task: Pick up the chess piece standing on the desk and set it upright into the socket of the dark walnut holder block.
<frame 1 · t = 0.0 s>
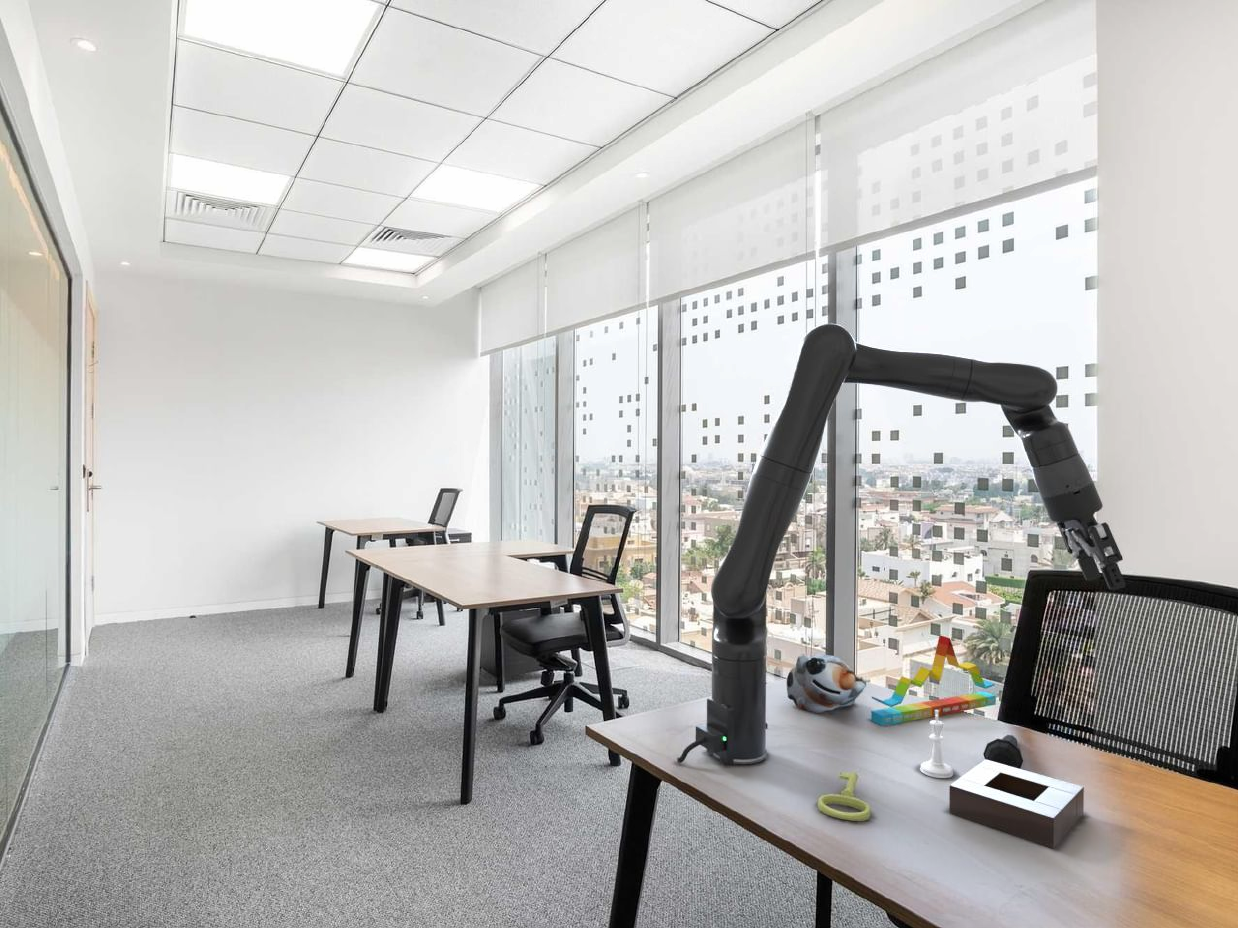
hand: (1105, 583, 116), 31 cm above the table, tool tilted 20°, fingers open, 8 cm apart
microphone: (1011, 761, 125), on the table
lucky cat figurine: (826, 707, 152), on the table
holder: (1016, 813, 107), on the table
key: (846, 804, 110), on the table
chart: (936, 713, 149), on the table
chess piece: (936, 773, 121), on the table
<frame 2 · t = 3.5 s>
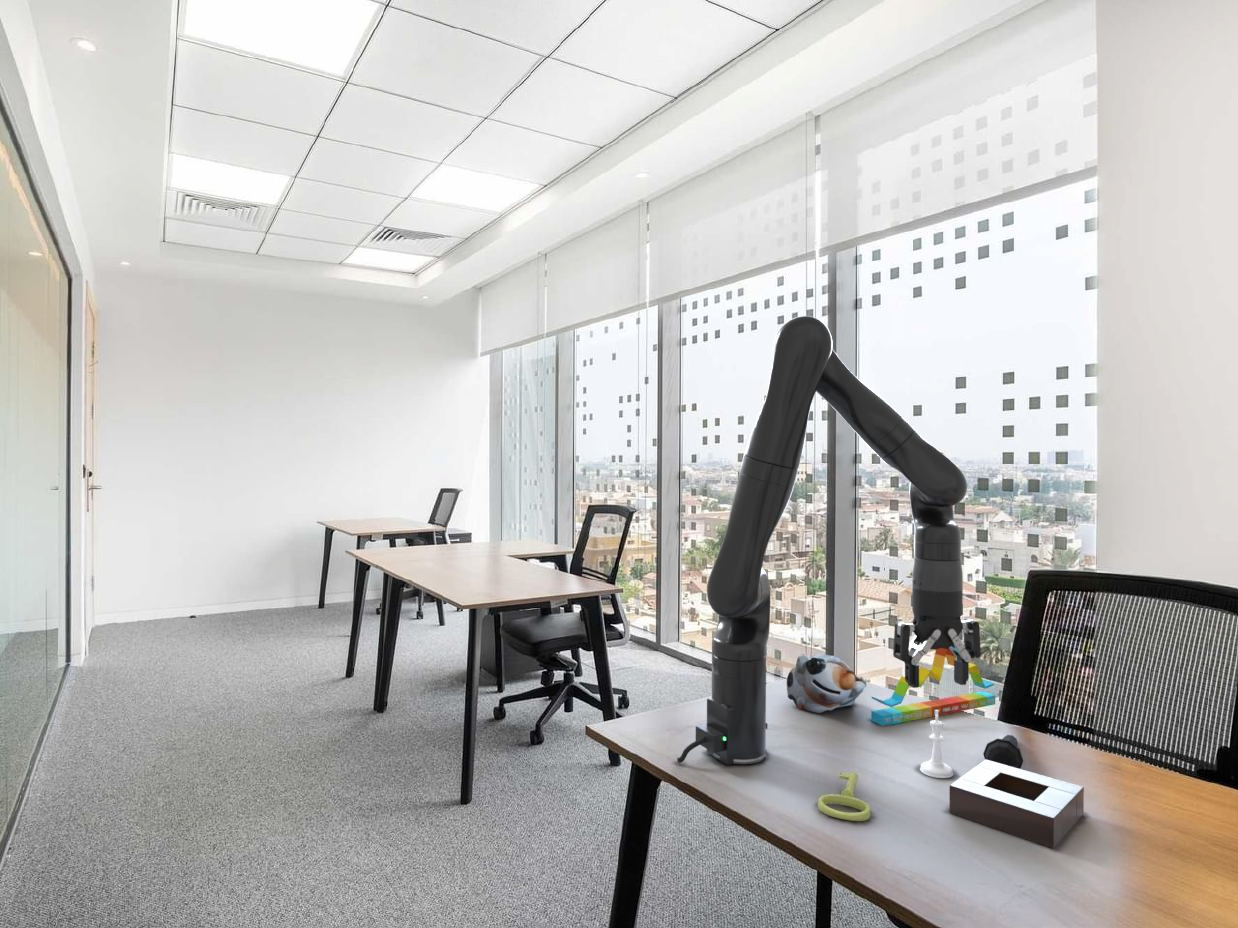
hand: (936, 684, 121), 14 cm above the table, tool pointing down, fingers open, 8 cm apart
nothing on the table moved.
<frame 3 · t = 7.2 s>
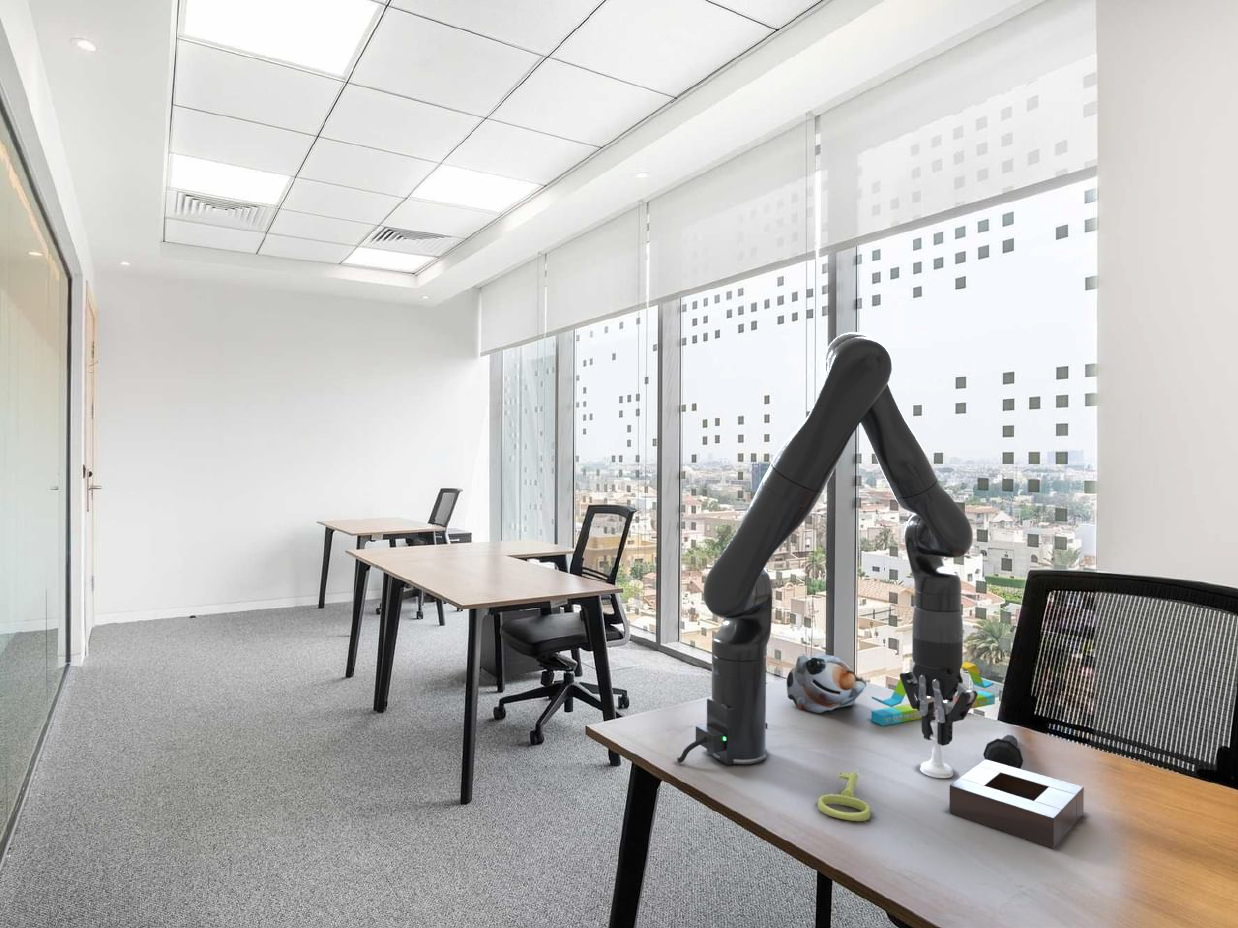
hand: (936, 740, 121), 5 cm above the table, tool pointing down, fingers closed on chess piece
chess piece: (936, 772, 121), on the table, touching gripper
everything else where it was.
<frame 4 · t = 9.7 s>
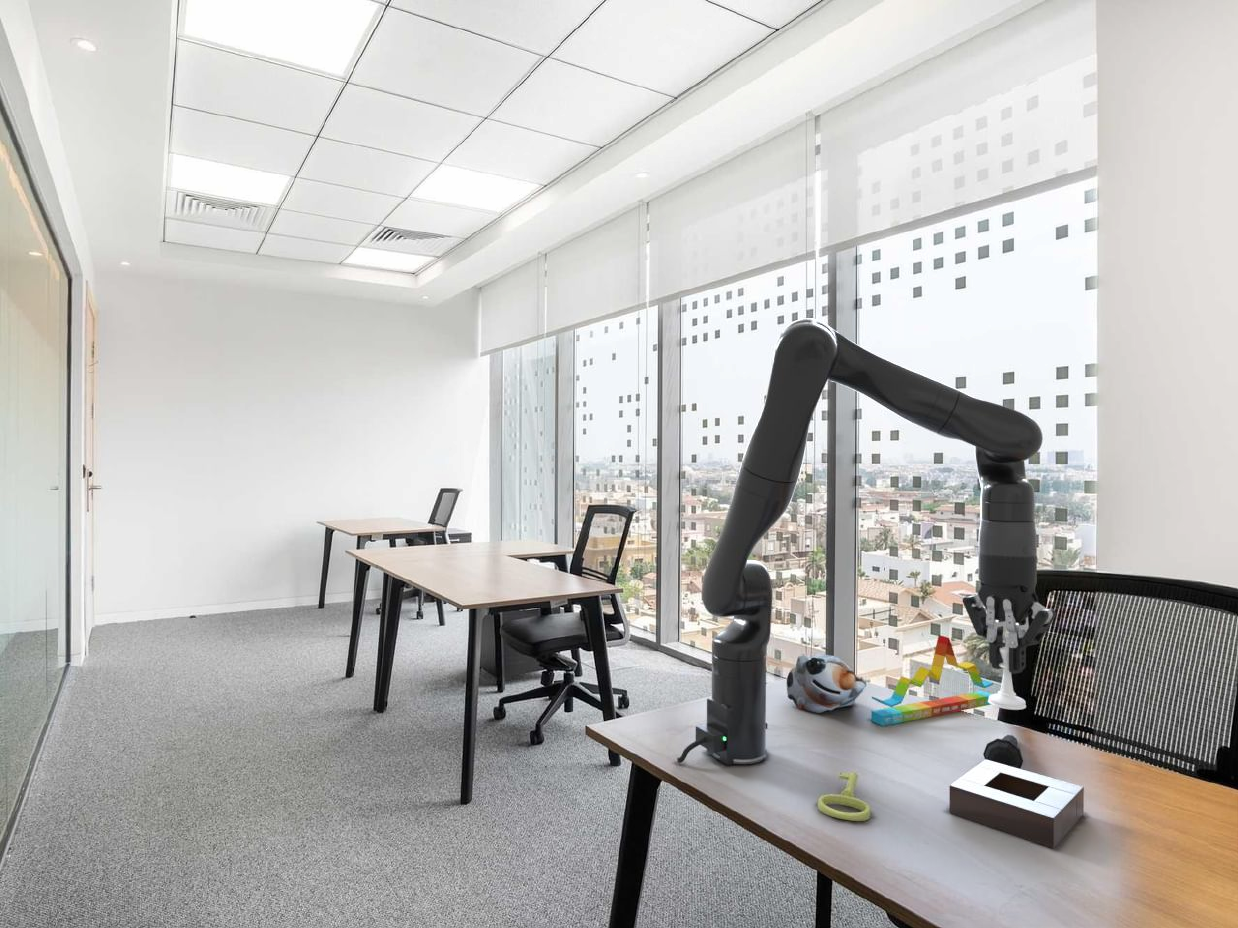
hand: (1006, 669, 108), 20 cm above the table, tool pointing down, fingers closed on chess piece
chess piece: (1006, 705, 108), point 15 cm above the table, touching gripper
everything else where it was.
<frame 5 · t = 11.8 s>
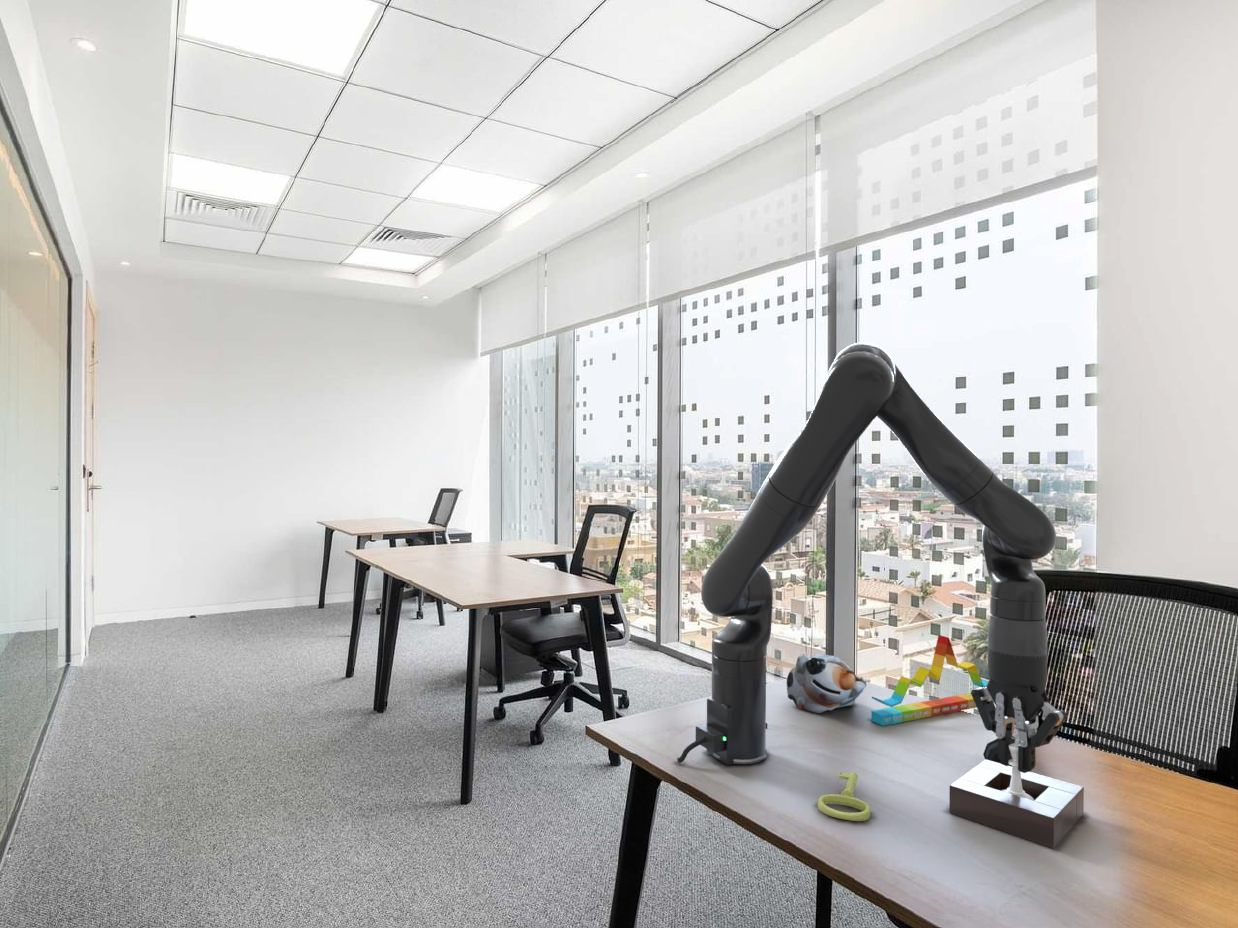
hand: (1016, 767, 107), 7 cm above the table, tool pointing down, fingers closed on chess piece
chess piece: (1015, 803, 107), point 2 cm above the table, touching gripper
everything else where it was.
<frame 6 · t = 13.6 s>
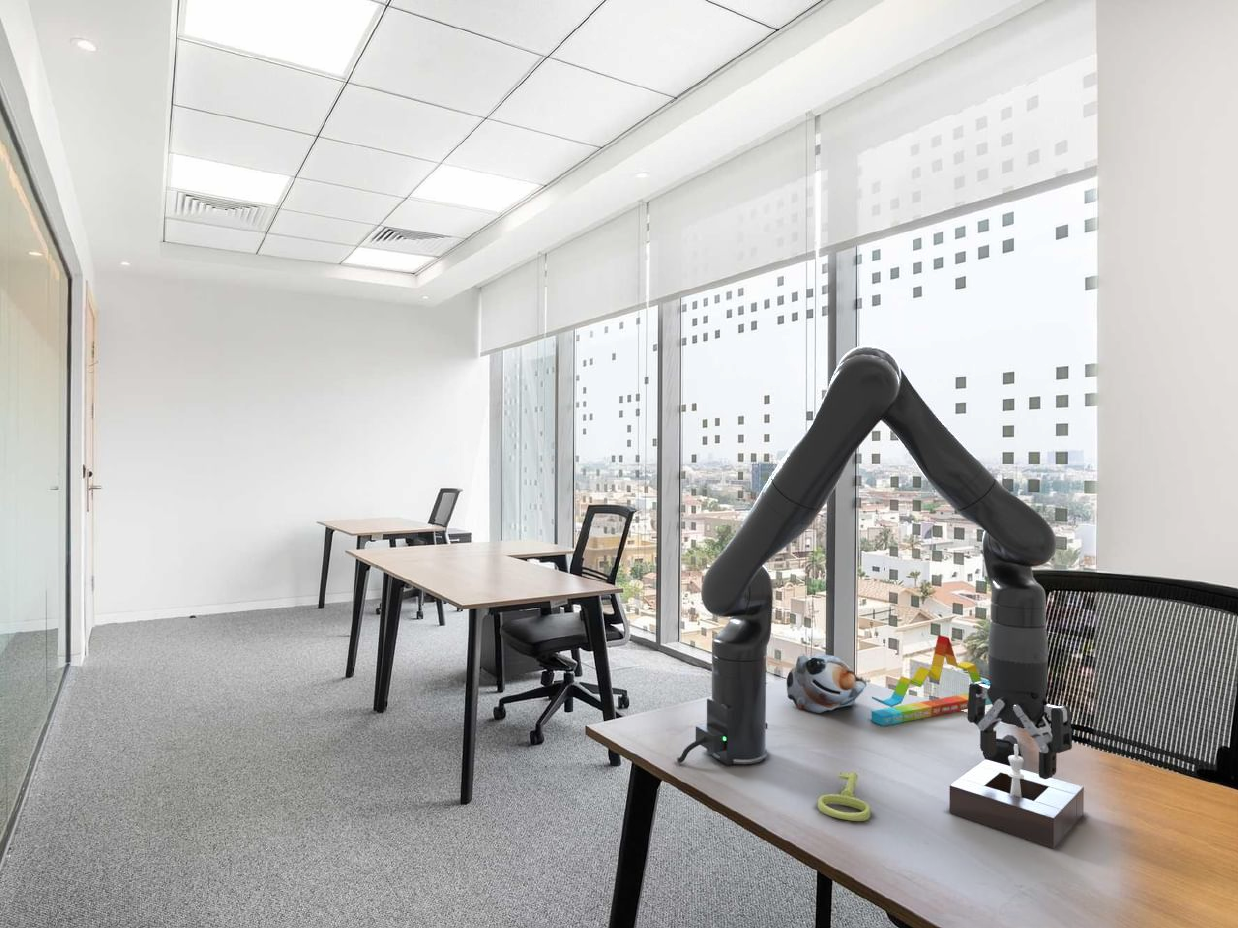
hand: (1016, 766, 107), 7 cm above the table, tool pointing down, fingers open, 8 cm apart
chess piece: (1015, 815, 107), resting in holder
everything else where it was.
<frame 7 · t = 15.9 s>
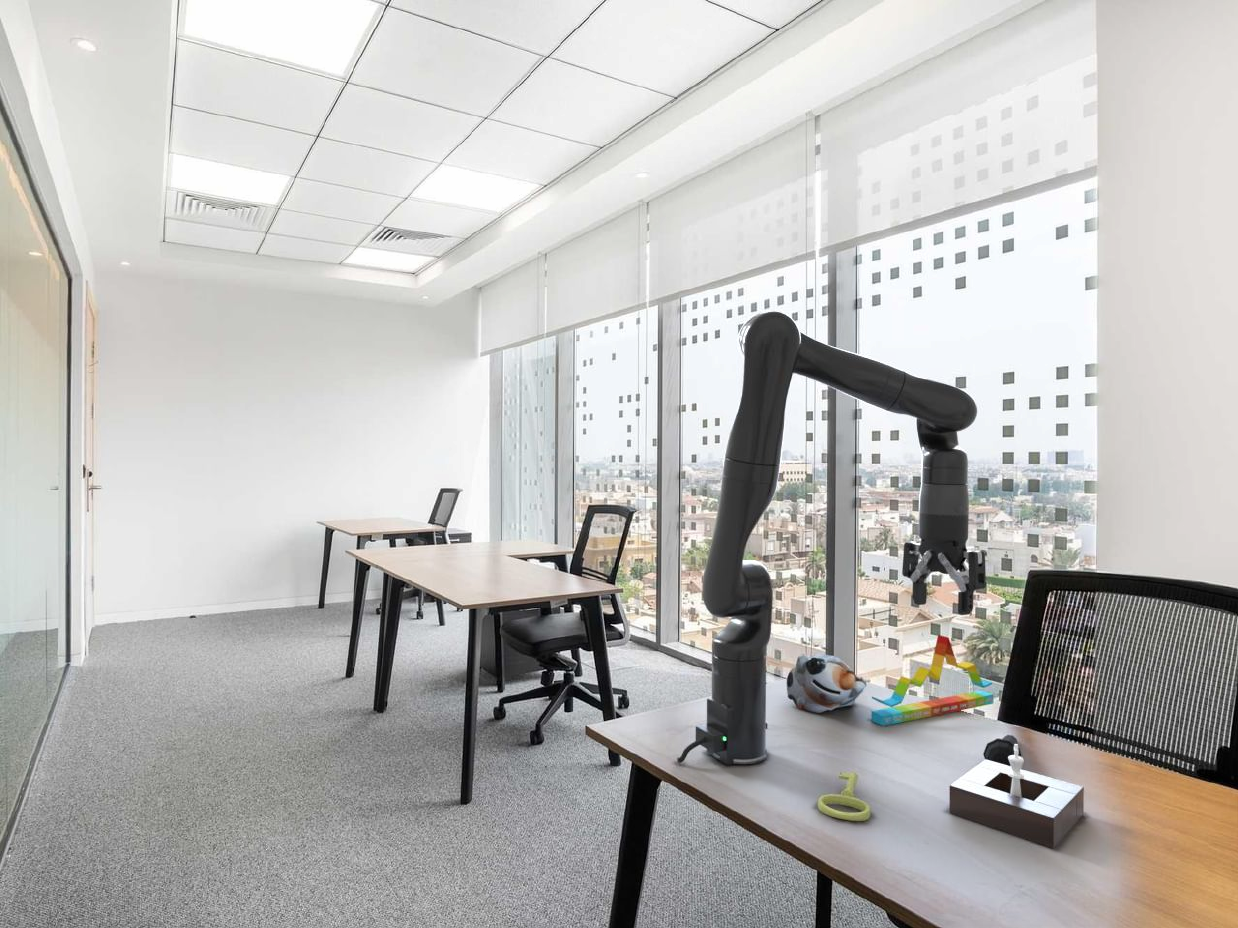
hand: (941, 609, 123), 26 cm above the table, tool pointing down, fingers open, 8 cm apart
nothing on the table moved.
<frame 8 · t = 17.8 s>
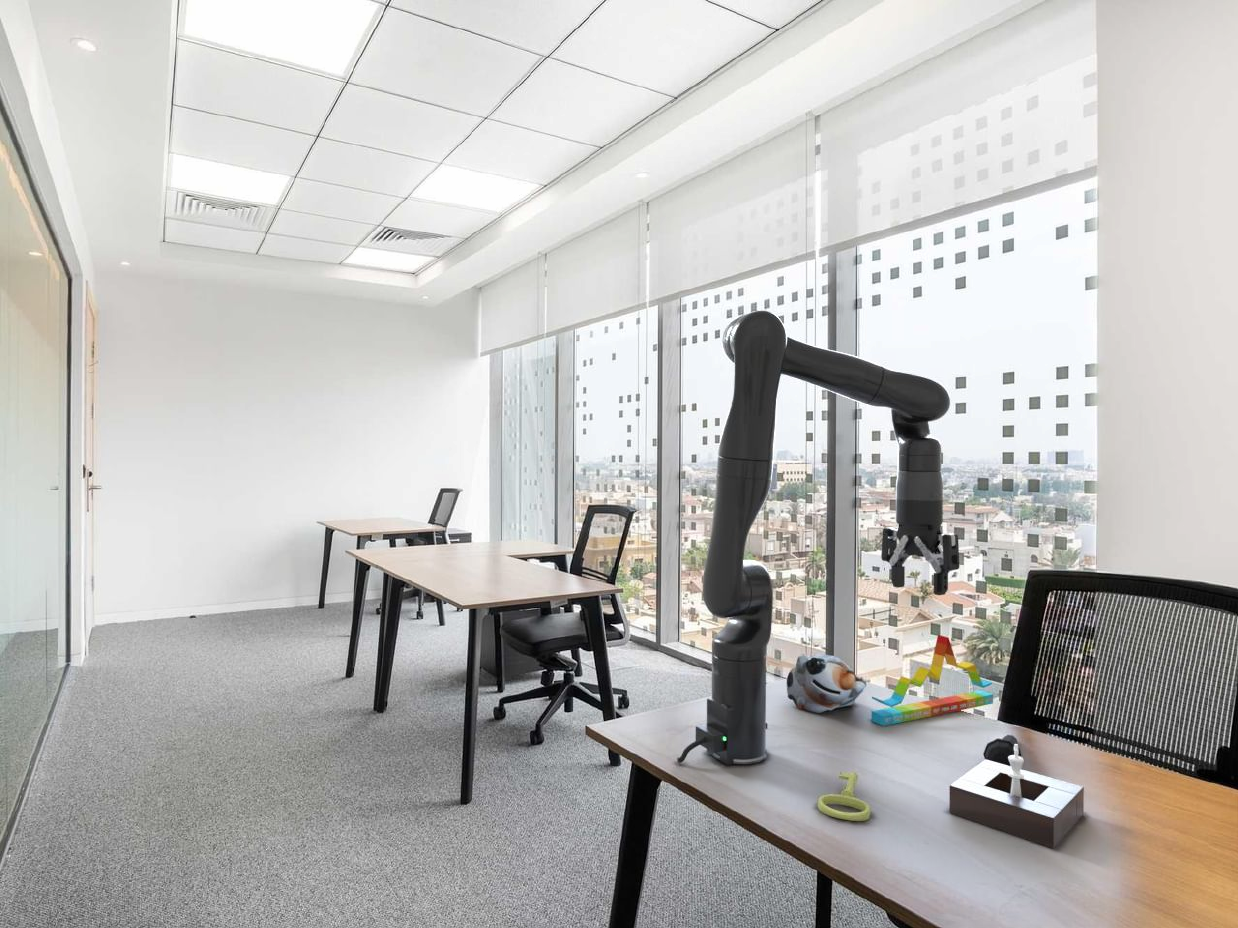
hand: (918, 590, 129), 28 cm above the table, tool pointing down, fingers open, 8 cm apart
nothing on the table moved.
at the end: chess piece 0.1 cm off-centre in the holder, point 0.0 cm above the holder's base; chess piece tilted 0°; the gripper is holding nothing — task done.
